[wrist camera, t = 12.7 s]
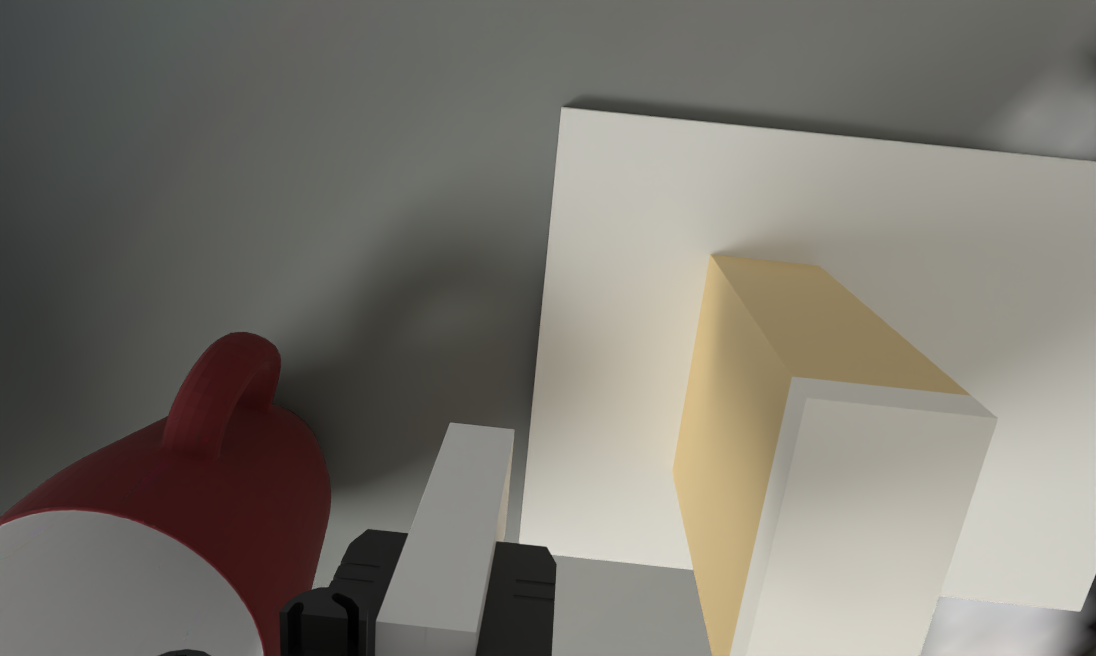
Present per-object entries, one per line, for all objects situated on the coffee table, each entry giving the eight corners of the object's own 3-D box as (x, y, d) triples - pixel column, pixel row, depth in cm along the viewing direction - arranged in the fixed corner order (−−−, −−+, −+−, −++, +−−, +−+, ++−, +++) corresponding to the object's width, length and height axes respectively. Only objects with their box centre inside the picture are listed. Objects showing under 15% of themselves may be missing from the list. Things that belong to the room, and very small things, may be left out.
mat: (519, 541, 29) (518, 550, 28) (561, 106, 23) (561, 107, 23) (1070, 600, 29) (1080, 611, 28) (1240, 176, 23) (1256, 178, 23)
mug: (161, 262, 26) (-84, 377, 16) (395, 306, 26) (287, 446, 16) (158, 522, 29) (-45, 740, 20) (364, 559, 29) (260, 794, 20)
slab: (672, 472, 27) (728, 731, 16) (710, 253, 24) (806, 398, 14) (770, 483, 27) (888, 748, 16) (819, 265, 24) (997, 418, 14)
